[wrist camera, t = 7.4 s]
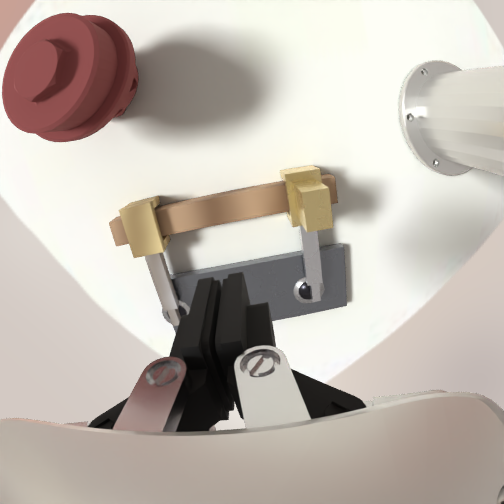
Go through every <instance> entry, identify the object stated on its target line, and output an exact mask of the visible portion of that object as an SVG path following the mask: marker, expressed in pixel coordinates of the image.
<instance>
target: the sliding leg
mask: <svg viewBox="0 0 504 504" xmlns="http://www.w3.org/2000/svg"><path fill="white" fill-rule="evenodd" d="M280 174H281V178H282V179H283V180H284V182H285V187H286V193H287V199H288V206H289V211H288V212H287V217H288V219H289V221H290V222H291V225H292V227H297V226H299V233H300V240H301V248H302V255H303V263H304V271H305V279H306V283H307V285H308V286H310V293H311V299H312V301H313V302H317V301H321V298H320V287H319V284H320V283H323V281H322V270H321V260H320V250H319V241H318V232H317V231H318V230H324V229H329V228H333V220H332V210H331V201H330V192H329V188H328V187H327V186H325V185H324V184H322V179H321V172H320V168H316V167H314V166H312V165H311V166H304V167H298V168H291V169H285V170H280Z"/></svg>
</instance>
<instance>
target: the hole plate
mask: <svg viewBox="0 0 504 504" xmlns="http://www.w3.org/2000/svg"><path fill="white" fill-rule="evenodd" d="M319 250H320V260H321V270H322V281H323V283H320V284H319V287H320V298H321V301H317V302H313V301H312V299H311V293H310V286H308V285H307V283H306V279H305V271H304V263H303V255H302V251H297V252H292V253H287V254H281V255H276V256H271V257H265V258H260V259H254V260H249V261H244V262H238V263H233V264H228V265H222V266H217V267H211V268H206V269H200V270H195V271H189V272H184V273H178V274H173V275H170V277H171V280H172V283H173V286H174V289H175V292H176V295H177V298H178V301H179V306H178V310H179V313H180V316H181V317H182V316H183V315H188V314H189V311H190V307H191V304H192V300H193V297H194V293H195V290H196V286H197V283H198V280H199V279H204V278H210V277H214V279H215V280H220V283H221V286H222V283H223V279H227V278H228V274H233V273H239V272H243V274H244V278H245V282H246V286H247V291H248V295H249V300H250V304H251V305H254V304H260V303H265V302H268V304H269V308H270V314H271V319H272V321H275V320H280V319H285V318H291V317H296V316H301V315H306V314H311V313H315V312H320V311H325V310H329V309H334V308H339V307H343V306H347V300H346V275H345V258H344V246H343V245H342V244H341V243H339V244H334V245H329V246H323V247H319ZM162 313H163V316H164V318H165V319H166V320H167V321H168V322H169V323H171V324H172V322H171V319H170V316H169V314H168V311H167V310H166V311H164V309H162ZM172 325H173V324H172ZM178 326H179V325H178ZM178 326H173V327H174V330H175V332H177V329H178Z"/></svg>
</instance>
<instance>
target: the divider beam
mask: <svg viewBox="0 0 504 504" xmlns="http://www.w3.org/2000/svg"><path fill="white" fill-rule="evenodd" d="M321 179H322V184H324V185H325V186H327V187H328V188H329V192H330V201H331V204H334V203H338V200H337V191H336V182H335V177H334V176H332V175H330V174H323V175H321ZM159 203H160V200H159V196H155V197H151V198H147V199H143V200H139V201H136V202H132V203H129V204H128V205H127V206H125V207H124V208H122V209H120V210H119V212H120V216H119V217H116V218H115V219H113V220H112V221H111V222H110V223H109V225H110V228H111V232H112V235H113V238H114V241H115V244H116V246H121V245H125V244H129V245H130V248H131V251H132V254H133V257H134V258H137V257H142V256H145V259H146V262H147V265H148V268H149V271H150V274H151V277H152V279H153V282H154V285H155V288H156V291H157V293H158V296H159V299H160V301H161V304H162V307H163V309H164V311H166V310H167V311H168V314H169V316H170V319H171V322H172V324H173V326H178V325H179V322H180V319H181V316H180V313H179V310H178V306H179V301H178V298H177V295H176V292H175V289H174V286H173V283H172V280H171V277H170V274H169V271H168V268H167V265H166V262H165V258H164V255H163V252H164V251H165V249H166V247H167V245H168V243H169V242H170V236H169V235H171V234H175V233H180V232H185V231H190V230H194V229H199V228H204V227H209V226H214V225H219V224H224V223H229V222H234V221H240V220H245V219H250V218H255V217H261V216H266V215H272V214H277V213H282V212H288V211H289V206H288V199H287V193H286V187H285V182H284V181H280V182H274V183H268V184H263V185H257V186H252V187H247V188H242V189H236V190H231V191H226V192H221V193H217V194H212V195H207V196H202V197H198V198H193V199H189V200H184V201H180V202H175V203H171V204H167V205H163V206H158V207H156V206H157V205H158V204H159Z"/></svg>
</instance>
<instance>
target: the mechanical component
mask: <svg viewBox="0 0 504 504" xmlns="http://www.w3.org/2000/svg"><path fill="white" fill-rule="evenodd" d="M137 86H138V71H137V67H136V65H135V53H134V48H133V45H132V42H131V40H130V38H129V37H128V35H127V34H126V33H125V31H124V30H123V29H121V28H120V27H119V26H118V25H117V24H115V23H114V22H112V21H111V20H109V19H107V18H104V17H101V16H96V15H85V16H81V15H78V14H74V13H62V14H57V15H54V16H51V17H49V18H47V19H44V20H43V21H41V22H40V23H38V24H37V25H35V26H34V27H33V28H32V29H31V30H30V31H29V32H28V33H27V34H26V35H25V36H24V37H23V38H22V39H21V41H20V42H19V43H18V45H17V46H16V48H15V49H14V51H13V53H12V55H11V57H10V59H9V61H8V64H7V67H6V70H5V74H4V78H3V85H2V98H3V104H4V108H5V111H6V114H7V116H8V118H9V119H10V121H11V122H12V123H13V124H14V125H15V126H16V127H17V128H19V129H20V130H22V131H24V132H27V133H36V134H37V135H38V136H40V137H41V138H43V139H46V140H48V141H53V142H68V141H75V140H80V139H83V138H85V137H88V136H90V135H92V134H94V133H96V132H97V131H99V130H100V129H101V128H103V127H104V126H105V125H106V124H107V123H108V122H110V121H111V119H112V118H114V117H119V116H121V115H122V114H123V113H124V112H125V110H126V107H127V106H128V105H129V104H130V102H131V101H132V99H133V97H134V95H135V93H136V89H137Z"/></svg>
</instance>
